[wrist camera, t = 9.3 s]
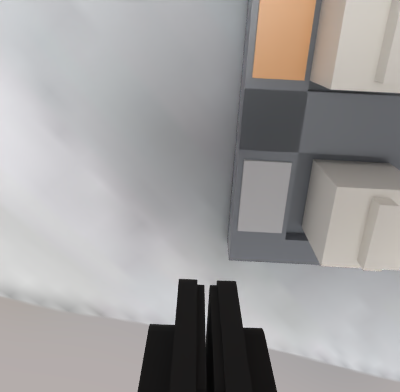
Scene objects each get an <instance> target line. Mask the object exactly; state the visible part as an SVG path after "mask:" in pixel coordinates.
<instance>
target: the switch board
mask: <svg viewBox="0 0 400 392" xmlns="http://www.w3.org/2000/svg"><path fill="white" fill-rule="evenodd" d="M321 4H322V0H248V11H247V22H246V34H245V45H244V57H243V68H242V80H241V91H240V103H239V114H238V126H237V137H236V149H235V160H234V172H233V183H232V195H231V206H230V218H229V229H228V241H227V244H228V255H229V260H236V261H255V262H275V263H294V264H313V265H320V263H319V261H318V259H317V257H316V255H315V253H314V251H313V249H312V247H311V245H310V243H309V241H308V239H307V237H306V235H305V233H304V231H303V229H302V222H303V216H304V210H305V204H306V199H307V193H308V187H309V181H310V175H311V169H312V163H313V159H320V160H339V161H358V162H377V163H390V164H391V165H393V166H394V167H396V168H397V169H398V170H400V93H387V92H368V91H348V90H331V89H328V88H326V87H324V86H321V85H319V84H317V83H314V82H312V81H310V75H311V69H312V62H313V56H314V49H315V43H316V36H317V30H318V23H319V17H320V10H321Z"/></svg>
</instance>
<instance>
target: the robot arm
mask: <svg viewBox="0 0 400 392" xmlns="http://www.w3.org/2000/svg"><path fill="white" fill-rule="evenodd" d="M138 392H277V390H276V385H275V380H274V376H273V371H272V367H271V362H270V358H269V353H268V348H267V344H266V339H265V335H264V331H263V329H262V328H243V325H242V318H241V312H240V305H239V298H238V292H237V285H236V281H217V285H210V290H209V304H208V318H207V332H206V347H205V294H204V285H197V280H192V279H179V285H178V297H177V308H176V320H175V325H159V324H150V326H149V330H148V335H147V341H146V347H145V353H144V358H143V364H142V370H141V376H140V381H139V387H138Z"/></svg>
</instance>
